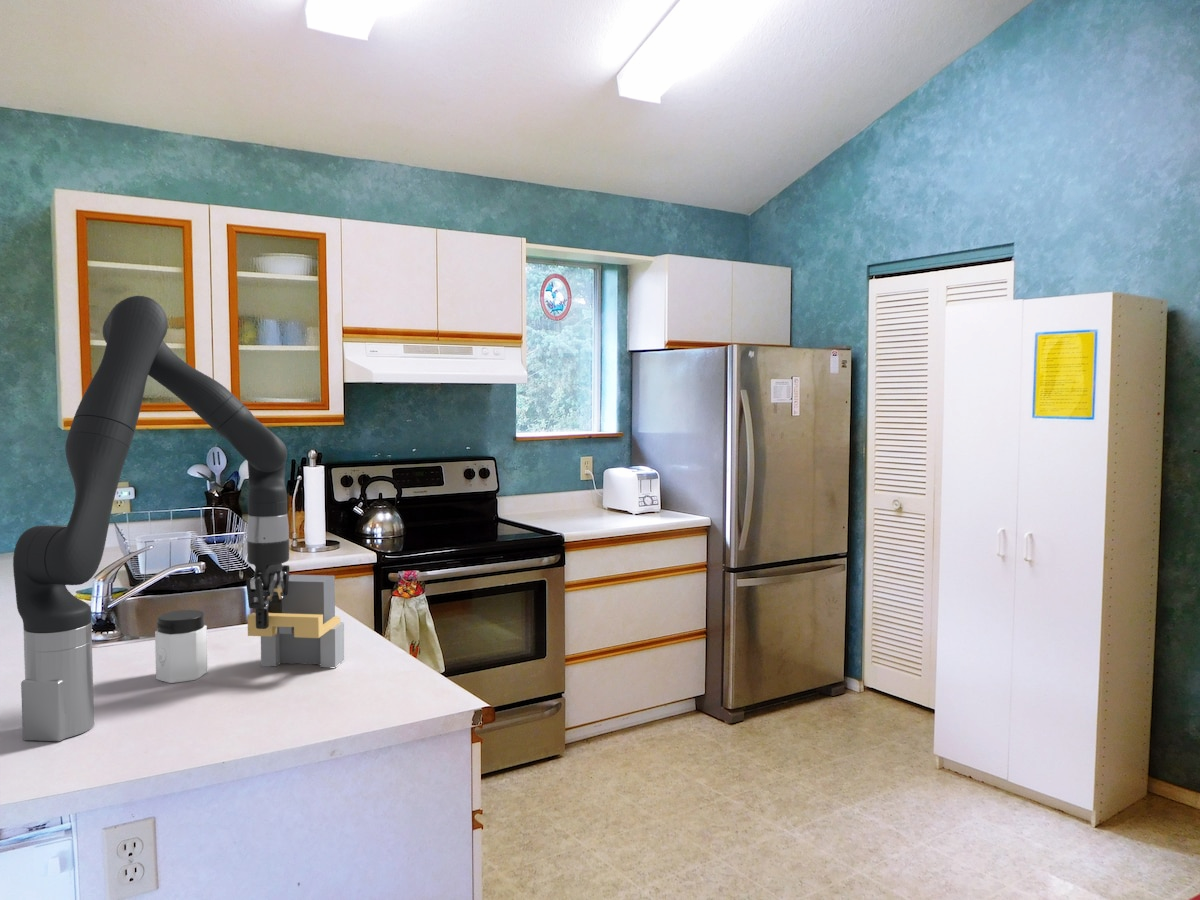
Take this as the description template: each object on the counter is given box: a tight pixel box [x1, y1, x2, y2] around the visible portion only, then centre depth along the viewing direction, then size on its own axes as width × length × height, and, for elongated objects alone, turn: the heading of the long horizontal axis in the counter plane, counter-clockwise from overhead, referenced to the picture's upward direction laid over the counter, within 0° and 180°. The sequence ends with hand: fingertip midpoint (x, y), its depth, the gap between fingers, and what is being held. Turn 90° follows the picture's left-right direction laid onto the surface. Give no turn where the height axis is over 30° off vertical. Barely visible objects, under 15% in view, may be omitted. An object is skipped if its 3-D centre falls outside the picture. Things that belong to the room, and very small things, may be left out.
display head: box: [260, 574, 345, 668], centre depth 170 cm, size 14×15×17 cm
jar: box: [154, 609, 209, 684], centre depth 163 cm, size 9×8×12 cm
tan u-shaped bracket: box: [247, 612, 341, 638], centre depth 169 cm, size 11×14×4 cm
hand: (269, 623), depth 164 cm, fingers open, 5 cm apart
